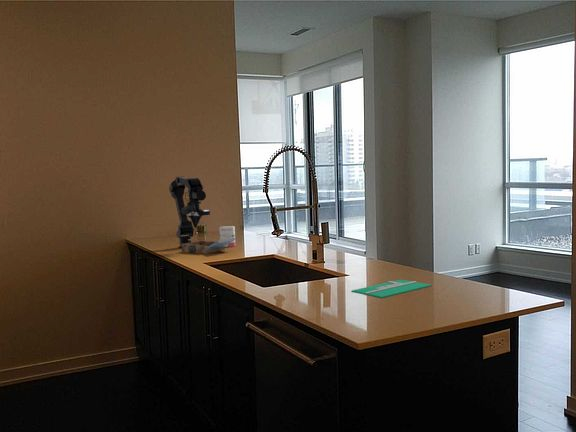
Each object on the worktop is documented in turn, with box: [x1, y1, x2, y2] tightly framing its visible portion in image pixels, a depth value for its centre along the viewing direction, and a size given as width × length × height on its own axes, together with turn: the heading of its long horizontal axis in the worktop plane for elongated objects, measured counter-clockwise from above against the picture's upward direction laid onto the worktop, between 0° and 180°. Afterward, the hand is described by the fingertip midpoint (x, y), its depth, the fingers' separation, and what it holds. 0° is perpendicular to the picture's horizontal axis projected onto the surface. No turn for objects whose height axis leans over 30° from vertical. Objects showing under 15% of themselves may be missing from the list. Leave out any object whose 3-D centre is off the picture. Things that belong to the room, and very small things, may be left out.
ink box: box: [218, 225, 236, 248], centre depth 349 cm, size 9×5×12 cm, turn 84°
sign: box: [351, 279, 432, 299], centre depth 217 cm, size 27×1×15 cm
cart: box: [180, 240, 225, 255], centre depth 333 cm, size 18×19×4 cm
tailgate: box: [206, 237, 236, 250], centre depth 325 cm, size 1×14×10 cm
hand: (195, 227), depth 337 cm, fingers closed
